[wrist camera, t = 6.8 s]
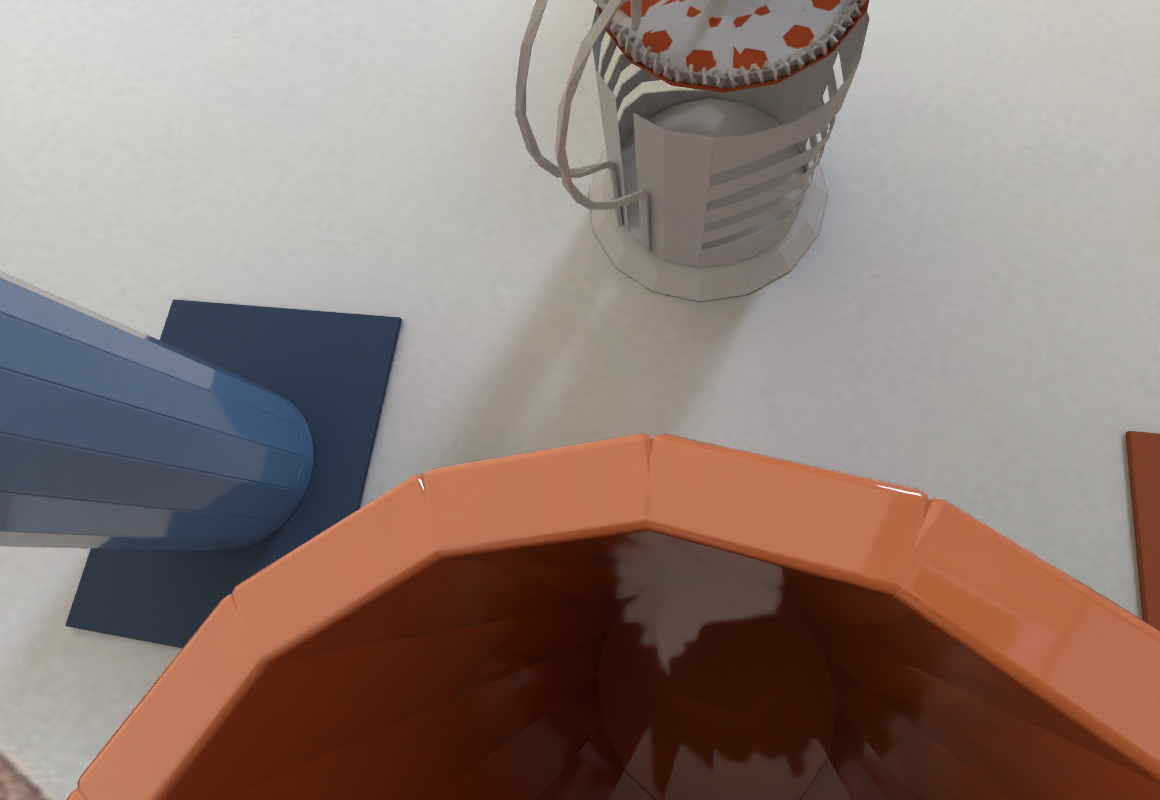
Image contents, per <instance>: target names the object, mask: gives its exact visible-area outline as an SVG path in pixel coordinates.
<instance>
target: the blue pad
mask: <svg viewBox="0 0 1160 800" xmlns="http://www.w3.org/2000/svg"><path fill="white" fill-rule="evenodd" d="M401 320H402V319H401V318H399V317H386V316H373V315H361V314H348V313H336V312H323V311H310V310H298V309H285V308H273V307H260V306H247V305H235V304H222V303H210V302H197V301H184V300H173V301H172V304H171V308H170V311H169V314H168V317H167V320H166V323H165V326H164V329H163V332H162V335H161V338H160V341H162V342H164V343H166V344H169V345H171V346H173V347H175V348H178V349H180V350H182V351H184V352H187V353H189V354H191V355H194V356H196V357H198V358H200V359H203V360H205V361H207V362H210V363H212V364H214V365H216V366H219V367H221V368H223V369H225V370H228V371H230V372H232V373H235V374H237V375H239V376H241V377H244V378H246V379H248V380H251V381H253V382H255V383H257V384H260V385H262V386H263V387H265V388H267V389H268V390H270V391H273V392H275V393H277V394H279V395H281V396H283V397H285V398H286V399H287V400H289V401H290V402H292V403H293V404H294V405H295V406H296V407H297V408H298V410H299V411H300V412H301V414H302V415H303V417H304V418H305V420H306V422H307V424H308V427H309V430H310V432H311V436H312V441H313V450H314V459H313V468H312V474H311V478H310V481H309V484H308V487H307V489H306V492H305V494H304V496H303V498H302V500H301V502H300V503H299V505H298V507H297V508H296V509H295V511H294V512H293V513H292V515H291V516H290V517H289V518H288V519H287V520H286V521H285V523H284V524H283V525H282V526H280V527H279V528H278V529H277V530H276V531H275V532H273V533H272V534H270V535H269V536H267V537H266V538H264V539H262V540H260V541H258V542H256V543H254V544H251V545H249V546H246V547H242V548H237V549H230V550H216V551H193V550H147V549H100V548H91V550H90V553H89V556H88V559H87V562H86V565H85V568H84V571H83V574H82V577H81V580H80V583H79V586H78V589H77V592H76V595H75V598H74V601H73V604H72V607H71V610H70V613H69V616H68V619H67V622H66V625H65V626H68V627H74V628H79V629H84V630H90V631H95V632H100V633H105V634H111V635H116V636H121V637H127V638H132V639H137V640H143V641H148V642H153V643H158V644H164V645H169V646H174V647H180V648H183V647H184V646H185V645H186V644H187V642H188V641H189V640H190V639H191V637H192V636H193V635H194V634H195V632H196V631H197V630H198V629H199V627H200V626H201V625H202V624H203V622H204V621H205V620H206V619H207V617H208V616H209V615H210V614H211V612H212V611H213V610H214V609H215V607H216V606H217V605H218V604H219V602H220V601H221V600H222V599H223V598H225V597H226V596H227V595H230V594H232V593H233V589H234V588H235V587H236V586H237V585H238V584H240V583H242V582H243V581H245V580H246V579H248V578H250V577H251V576H253V575H254V574H256V573H258V572H259V571H261V570H262V569H264V568H266V567H267V566H269V565H271V564H272V563H274V562H275V561H277V560H279V559H280V558H282V557H283V556H285V555H287V554H288V553H290V552H291V551H293V550H295V549H296V548H298V547H299V546H301V545H303V544H304V543H306V542H307V541H309V540H311V539H312V538H314V537H316V536H317V535H319V534H320V533H322V532H324V531H325V530H327V529H328V528H330V527H332V526H333V525H335V524H336V523H338V522H340V521H341V520H343V519H344V518H346V517H348V516H349V515H351V514H352V513H354V512H356V511H357V510H359V507H360V502H361V498H362V493H363V489H364V484H365V480H366V476H367V471H368V467H369V462H370V458H371V453H372V449H373V444H374V440H375V436H376V431H377V427H378V422H379V418H380V413H381V409H382V404H383V400H384V396H385V391H386V387H387V382H388V378H389V373H390V369H391V364H392V360H393V356H394V351H395V347H396V342H397V338H398V333H399V329H400V325H401Z"/></svg>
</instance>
